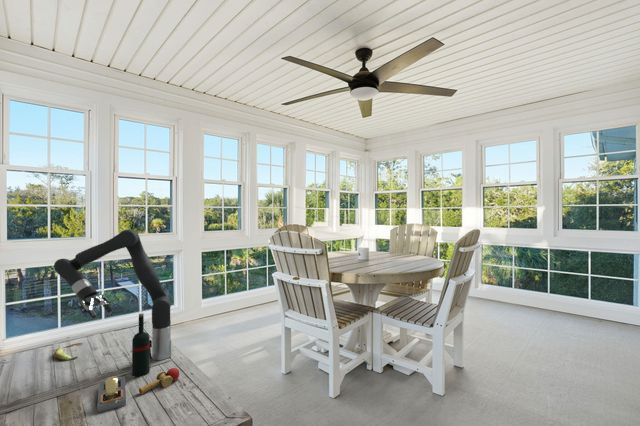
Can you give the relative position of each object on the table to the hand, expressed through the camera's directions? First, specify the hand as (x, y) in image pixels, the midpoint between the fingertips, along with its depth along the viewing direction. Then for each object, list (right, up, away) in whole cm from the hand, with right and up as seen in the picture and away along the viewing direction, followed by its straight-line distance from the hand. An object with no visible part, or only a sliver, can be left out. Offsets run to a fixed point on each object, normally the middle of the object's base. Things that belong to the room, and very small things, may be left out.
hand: (103, 314), depth 159 cm
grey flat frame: (+16, -30, -18) cm, 39 cm away
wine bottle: (+18, -31, +3) cm, 36 cm away
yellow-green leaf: (-35, -31, +20) cm, 51 cm away
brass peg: (+19, -30, -23) cm, 42 cm away
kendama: (+33, -31, -10) cm, 47 cm away
